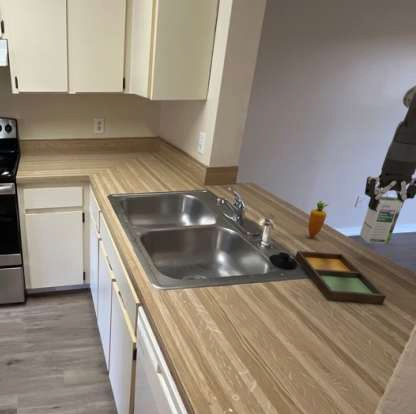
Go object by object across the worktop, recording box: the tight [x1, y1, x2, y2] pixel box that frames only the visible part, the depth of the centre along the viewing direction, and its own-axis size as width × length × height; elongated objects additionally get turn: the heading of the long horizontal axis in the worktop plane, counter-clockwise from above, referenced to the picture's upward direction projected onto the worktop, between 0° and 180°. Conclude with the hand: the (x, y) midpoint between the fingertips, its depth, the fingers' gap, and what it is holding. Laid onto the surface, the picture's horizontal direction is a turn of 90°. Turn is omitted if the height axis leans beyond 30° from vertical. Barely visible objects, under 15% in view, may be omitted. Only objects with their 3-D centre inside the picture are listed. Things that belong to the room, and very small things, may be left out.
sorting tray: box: [295, 250, 387, 305], centre depth 101 cm, size 14×22×3 cm, turn 172°
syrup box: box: [359, 195, 404, 245], centre depth 104 cm, size 6×6×14 cm
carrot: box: [308, 200, 329, 239], centre depth 122 cm, size 5×5×15 cm
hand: (383, 209), depth 103 cm, fingers closed on syrup box, 6 cm apart
